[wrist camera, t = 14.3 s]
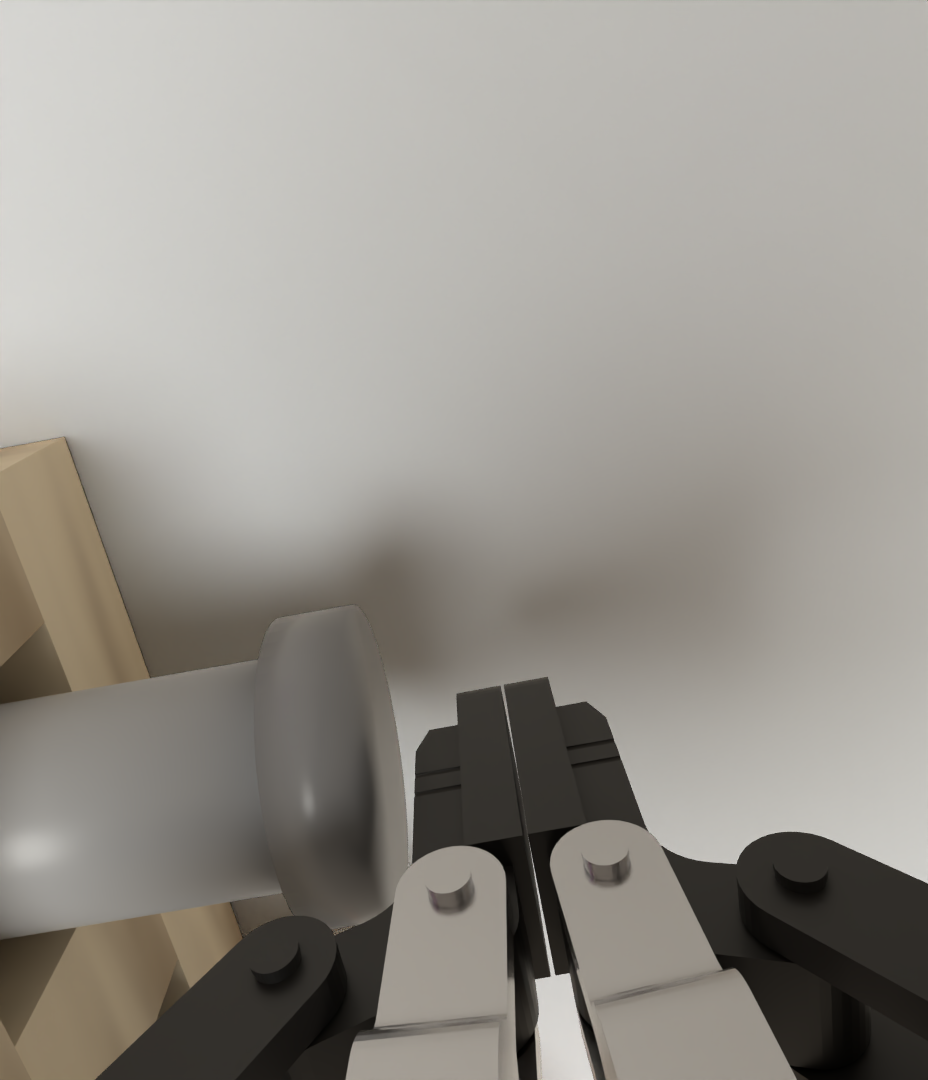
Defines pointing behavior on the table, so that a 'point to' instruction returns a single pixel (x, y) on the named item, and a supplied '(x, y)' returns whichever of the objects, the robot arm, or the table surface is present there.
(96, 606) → the socket rail
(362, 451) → the table surface
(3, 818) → the grey dowel
